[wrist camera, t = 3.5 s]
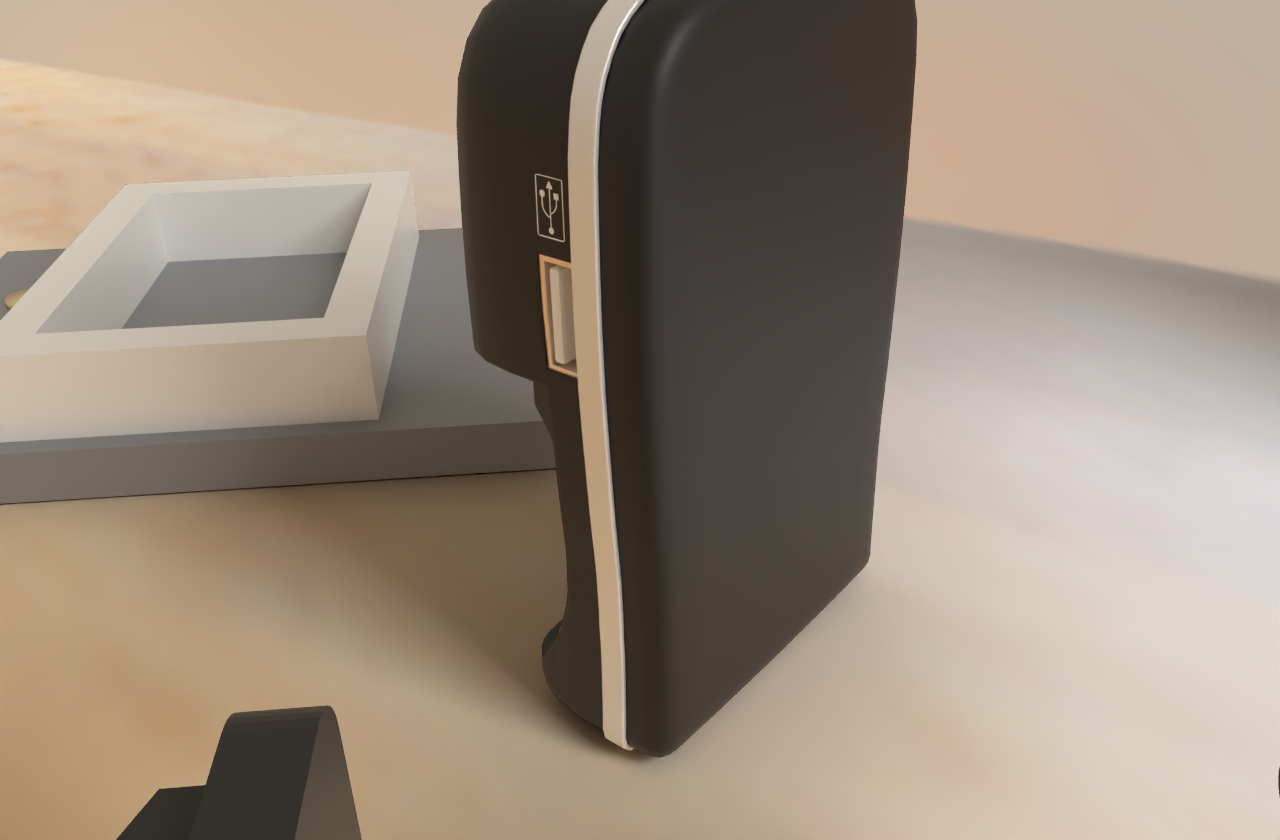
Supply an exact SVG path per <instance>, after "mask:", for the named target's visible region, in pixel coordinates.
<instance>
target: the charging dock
mask: <svg viewBox="0 0 1280 840" xmlns="http://www.w3.org/2000/svg"><path fill="white" fill-rule="evenodd" d="M550 468H556V465H555V456H554V446H553V442H552V439H551V437H550V435H549V432H548V430H547V428H546V426H545V424H544V422H543V420H542V418H541V416H540V414H539V412H538V410H537V408H536V406H535V401H534V388H533V381H531V380H528V379H525V378H523V377H520V376H517V375H515V374H512V373H509V372H507V371H505V370H503V369H501V368H499V367H497V366H495V365H493V364H491V363H489V362H487V361H485V360H484V359H483V358H482V357H481V356H480V355H479V354H478V353H477V352H476V351H475V349H474V342H473V333H472V324H471V315H470V306H469V297H468V288H467V279H466V267H465V254H464V241H463V229H462V228H458V229H439V230H418V222H417V213H416V205H415V197H414V189H413V181H412V173H411V170H410V171H389V172H369V173H348V174H328V175H307V176H287V177H266V178H246V179H225V180H205V181H184V182H164V183H143V184H126V185H125V186H124V187H123V188H122V189H121V190H120V191H119V192H118V193H117V195H116V196H115V197H114V198H113V199H112V200H111V201H110V202H109V203H108V204H107V205H106V206H105V208H104V209H103V210H102V211H101V212H100V213H99V214H98V215H97V216H96V217H95V218H94V219H93V221H92V222H91V223H90V224H89V225H88V226H87V227H86V228H85V229H84V230H83V231H82V232H81V234H80V235H79V236H78V237H77V238H76V239H75V240H74V241H73V242H72V243H71V244H70V246H69V247H68V248H67V249H52V250H33V251H14V252H7V253H6V254H5V255H4V256H3V257H2V258H1V259H0V504H4V503H20V502H35V501H51V500H67V499H82V498H98V497H113V496H129V495H145V494H160V493H176V492H191V491H207V490H223V489H238V488H254V487H269V486H285V485H301V484H316V483H332V482H347V481H363V480H379V479H394V478H410V477H425V476H441V475H457V474H472V473H488V472H503V471H519V470H535V469H550Z"/></svg>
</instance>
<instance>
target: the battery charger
mask: <svg viewBox="0 0 1280 840" xmlns="http://www.w3.org/2000/svg"><path fill="white" fill-rule="evenodd" d="M916 45H917V17H916V9H915V0H492V1H491V2H489V4H488V5H486V6H485V7H484V8H483V9H482V11H481V13H480V15H479V17H478V19H477V21H476V23H475V25H474V27H473V29H472V30H471V32H470V34H469V37H468V38H467V41H466V46H465V50H464V54H463V59H462V63H461V68H460V72H459V76H458V98H457V140H458V161H459V181H460V197H461V213H462V229H463V241H464V254H465V267H466V279H467V288H468V297H469V306H470V315H471V324H472V333H473V342H474V349H475V351H476V352H477V353H478V354H479V355H480V356H481V357H482V358H483V359H484V360H485V361H487V362H489V363H491V364H493V365H495V366H497V367H499V368H501V369H503V370H505V371H507V372H509V373H512V374H515V375H517V376H520V377H523V378H525V379H528V380H531V381H533V388H534V401H535V406H536V408H537V410H538V412H539V414H540V416H541V418H542V420H543V422H544V424H545V426H546V428H547V430H548V432H549V435H550V437H551V439H552V442H553V446H554V456H555V465H556V473H557V482H558V491H559V500H560V508H561V515H562V523H563V531H564V539H565V546H566V558H567V582H568V594H567V602H566V608H565V612H564V617H563V619H562V620H561V621H560V622H559V623H558V624H557V625H556V626H555V627H554V628H553V629H552V630H551V631H550V632H549V633H548V634H547V636H546V637H545V639H544V641H543V645H542V668H543V671H544V674H545V678H546V681H547V683H548V685H549V686H550V688H551V689H552V691H553V692H554V693H555V695H556V696H557V698H559V699H560V700H561V701H562V702H563V703H565V704H566V705H567V706H568V707H569V708H570V709H571V710H572V711H573V712H574V713H575V714H576V715H578V716H580V717H581V718H583V719H585V720H586V721H588V722H590V723H592V724H593V725H595V726H597V727H599V728H600V729H602V730H603V731H604V736H605V738H606V739H608V740H610V741H612V742H613V743H615V744H617V745H618V746H620V747H622V748H624V749H627V750H630V751H631V750H632V749H634V748H635V749H637V750H639V751H641V752H643V753H645V754H647V755H650V756H653V757H663V756H666V755H669V754H671V753H672V752H673V751H675V750H676V749H677V748H679V747H680V746H681V745H682V744H683V743H684V742H685V741H686V740H687V739H688V738H689V737H690V736H692V735H693V734H694V733H695V732H696V731H697V730H698V729H699V728H700V727H701V726H702V725H703V724H705V723H706V722H707V721H708V720H709V719H710V718H711V717H712V716H713V715H714V714H715V713H716V712H717V711H719V710H720V709H721V708H722V707H723V706H724V705H725V704H726V703H727V702H728V701H729V700H730V699H731V698H732V697H733V696H734V695H735V694H736V693H737V692H739V691H740V690H741V689H742V688H743V687H744V686H745V685H746V684H747V683H748V682H749V681H750V680H751V679H752V678H753V677H754V676H755V675H756V674H757V673H758V672H759V671H761V670H762V669H763V668H764V667H765V666H766V665H767V664H768V663H769V662H770V661H771V660H772V659H773V658H774V657H775V656H776V655H777V654H778V653H779V652H780V651H781V650H782V649H783V648H784V647H785V646H786V645H787V644H788V643H789V642H790V641H792V640H793V639H794V638H795V637H796V636H797V635H798V634H799V633H800V632H801V631H802V630H803V629H804V628H805V627H806V626H807V625H808V624H809V623H810V622H811V621H812V620H813V619H814V618H815V617H816V616H817V615H818V614H819V613H820V612H821V611H822V610H823V609H824V608H825V607H826V606H827V605H828V604H829V603H830V602H831V601H832V600H833V599H834V598H835V597H836V596H837V595H838V594H839V593H840V592H841V591H842V590H843V589H844V588H845V587H846V586H847V585H848V583H849V582H850V581H851V580H852V579H853V578H854V577H855V576H856V575H857V574H858V573H859V572H860V571H861V570H862V569H863V568H864V567H865V565H866V564H867V563H868V560H869V556H870V545H871V532H872V519H873V506H874V493H875V481H876V469H877V456H878V445H879V435H880V425H881V415H882V407H883V398H884V390H885V382H886V374H887V366H888V357H889V348H890V339H891V331H892V322H893V312H894V303H895V294H896V285H897V276H898V267H899V257H900V248H901V237H902V227H903V216H904V206H905V195H906V184H907V172H908V160H909V148H910V135H911V134H910V133H911V122H912V109H913V96H914V82H915V67H916Z"/></svg>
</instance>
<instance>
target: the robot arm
mask: <svg viewBox="0 0 1280 840" xmlns="http://www.w3.org/2000/svg"><path fill="white" fill-rule="evenodd" d="M1278 778H1279V795H1280V768H1279V777H1278ZM116 840H362V839H361V833H360V829H359V824H358V819H357V814H356V809H355V804H354V799H353V794H352V789H351V785H350V780H349V775H348V770H347V765H346V760H345V755H344V750H343V745H342V740H341V736H340V731H339V726H338V722H337V718H336V715H335V712H334V710H333V709H332V707H331V706H316V707H304V708H291V709H278V710H265V711H252V712H239V713H233V714H231V715H230V717H229V718H228V719H227V721H226V723H225V725H224V728H223V731H222V734H221V737H220V740H219V743H218V747H217V750H216V753H215V756H214V760H213V763H212V766H211V769H210V773H209V776H208V779H207V783H206V785H203V786H191V787H179V788H166V789H159V790H158V791H157V792H156V793H155V794H154V796H153V797H152V798H151V799H150V800H149V802H148V803H147V804H146V805H145V806H144V807H143V809H142V810H141V811H140V812H139V813H138V815H137V816H136V817H135V818H134V819H133V820H132V822H131V823H130V824H129V825H128V826H127V827H126V829H125V830H124V831H123V832H122V833H121V835H120V836H119V837H118V838H117V839H116Z"/></svg>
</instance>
